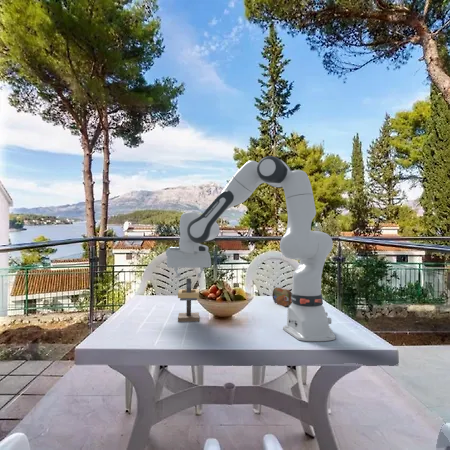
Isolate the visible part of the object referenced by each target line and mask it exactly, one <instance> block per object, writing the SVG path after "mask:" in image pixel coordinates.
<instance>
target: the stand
mask: <svg viewBox="0 0 450 450" xmlns="http://www.w3.org/2000/svg"><path fill="white" fill-rule="evenodd" d="M185 289H186V293H191V289H192V278H186V288H185ZM179 301H180V302H181V301H185V302H186V312H179V313H178V316H177V322H179V323H180V322H181V323H182V322H200V312H192V301H198V298H179Z"/></svg>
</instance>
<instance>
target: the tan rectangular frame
mask: <svg viewBox="0 0 450 450" xmlns="http://www.w3.org/2000/svg"><path fill="white" fill-rule="evenodd" d="M180 298H197V299H200V289H196V288H195V289H193V288H191V293H186V288H184V289H178V292H177V299H180Z"/></svg>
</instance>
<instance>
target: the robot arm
mask: <svg viewBox="0 0 450 450" xmlns="http://www.w3.org/2000/svg"><path fill="white" fill-rule="evenodd" d="M262 184H266V185H269V186H271V187H273V188H277V189H283V191H284V197H285V205H286V211H287V212H286V213H287V226H286V231H285V233H284V234H283V236H282V237H281V239H280V240H279V242H280V243H279V249H280V252H281V254H282V255H283V257H284V258H286V259H290V260H295V261H299V263H298V265H297V267H296V268H295V270H294V271H293V272H292V273H293V274H292V291H291V293H292V296H291V302H292V304H291V305H290V306H288V307H287V314H286V325H283V327H282V330H283V331H285V332H286V333H288V334H289V335H291V336H292V337H293V338H295V339H297V340H298V341H304V342H328V341H334V340H336V335H335V334H334V332H333V330H332V327H331V326H330V325H332V323H333V322H332V317H328V312H327V311H325V310H326V309H325V307H324V306H323V305H324V301H323V300H324V299H323V293H322V274H323V270H324V265H325V262H326V260H327V257H328V256H329V254H330V253H331V251H332V250H333V246H334V245H333V243H334V242H333V238H332V237H331V235H329V234H328V233H326V232H323V231H321V230H320V231H319V230H312V222H313V219H314V218H315V217H316V214H317V209H316V204H315V199H314V198H315V197H314V193H313V189H312V184H311V181H310V179H309V175H308V174H307V172H306V171H304V170H301V169H294V170H292V169H291V167H290V166H289V165H287V164H286V162H284V161H283V160H282V159H280V158H278V157H277V156H274V155H267V156H265V157H263V158H261V159H260V160H259V162H257V161H256V160H248V161H246V162H245V163H244V164H243V165H242V166H241V167H240V168H239V169H238V170H237V171H236V173H235V174H234V175H233V176H232V178H231V179H230V180H229V181H228V182H227V184H225V187H223V189H222V191H221V192H220V193H219V194H218V196H217V197H216V198H215V199H214V200H213V201H212V202H211V204H209V205H208V207H206V209H205V210H204V212H202V214H200V213H199V212H198V211H197V210H196V211H195V210H193V211H186V212H183V213H182V214H181V216H180V219H179V234H180V236H179V246H174V247H173V246H170V247H168V248H166V251H165V256H166V257H167V258H166V267H167V268H169V269H170V268H172V269H174V270H173V271H175V274H176V278H181V273H180V272H179V271H178V269H181V268H193V269H194V268H196V269H197V268H198V269H199V268H200V271H199V272H197V278H201V277H202V273H203V271H204V268H205V269H206V268H207V269H208V268H211V267H212V259H211V254H210V251H209V246H207V245H205V244H202V243H204V242H208V241H212V240H214V239H216V238H217V237H218V236H219V234H220V229H221V228H220V225H219V223H218V222H217V221H218V220H219V218H220V217H222V216H223V214H224V213H225V212H226V211H227V210H229V209H230V208H233V207H235V206H237V205H241V204H243V203H245V201H247V200H248V199H249V198H251V196H252V194H253V193H254V192H255V191H256V189H257V188H258V187H259V186H260V185H262Z"/></svg>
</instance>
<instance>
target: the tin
mask: <svg viewBox="0 0 450 450" xmlns="http://www.w3.org/2000/svg"><path fill="white" fill-rule="evenodd" d="M271 294H272V300H273V302H274V304H276V303H277V305H279V306H282V307H290V306H291V304H292V302H291V296H292V291H291V290H289V289H287V288H284V287H274V289H273V290H272V293H271Z"/></svg>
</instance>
